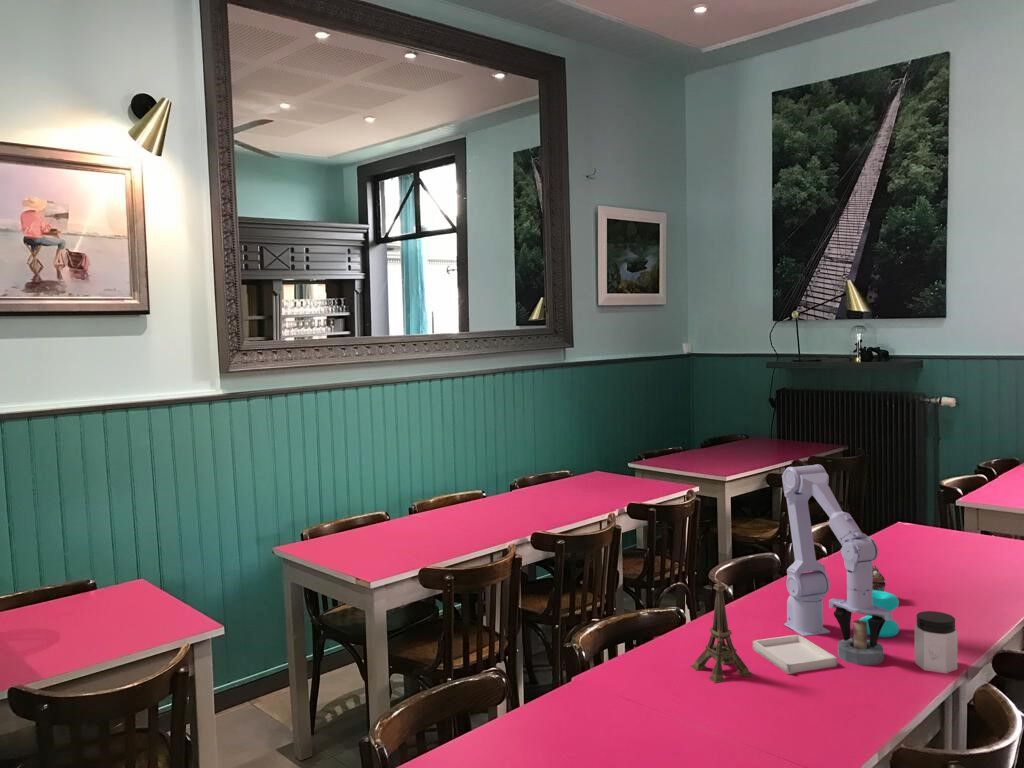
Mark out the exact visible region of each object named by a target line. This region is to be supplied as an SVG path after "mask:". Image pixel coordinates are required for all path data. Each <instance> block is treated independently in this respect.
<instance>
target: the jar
mask: <svg viewBox="0 0 1024 768" xmlns="http://www.w3.org/2000/svg"><path fill="white" fill-rule="evenodd" d="M914 664H916V665H917V666H918V667H920V668H921V669H922V670H923V671H926V672H927V671H928V672H934V673H941V674H948V673H950V672H954V671H956V670H958V629H956V618H955V617H954V616H953V615H951V614H948V613H945V612H941V611H933V610H925V611H920V612H918V613H917V614H916V624H914Z"/></svg>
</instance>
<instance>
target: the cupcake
mask: <svg viewBox="0 0 1024 768" xmlns="http://www.w3.org/2000/svg"><path fill="white" fill-rule="evenodd" d="M885 581H886V579H885V577H884V575H883V574H882V573H881V572H880V571H879V568H878V567H877V566H876V565H872V590H876V591H884V592H885V588H886V586H887V585H886V582H885Z"/></svg>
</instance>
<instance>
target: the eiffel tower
mask: <svg viewBox="0 0 1024 768" xmlns="http://www.w3.org/2000/svg"><path fill="white" fill-rule="evenodd" d="M713 589H714V590H716V591H715V600H714V610H713V618H712V619H713V620H712V627H710V628H709V631H708V632H710V637H709V640H708V643H707V645H704V646H705V649H704V650H703V652H701V654H700V655H699V656H698V658H696V659H695V661H694V663H693V664H690V665H689V667H690V668H691V669H693V670H695V671H701V670H707V666H706V664H707V663H708V661H709V660H710V659H711V658H712V659H713V660H714V662H715V663H714V665H713V669H712V671H711V675H709V677H708V680H710V681H711V682H712V683H714V684H718V683H723V682H726V679H725V677H724V676H723V667H722V665H725V666H726V665H730V664H734V666H735V668H736V669H737V670H736V674H738V675H739V676H742V677H743V678H745V677H751V676H754V673H752V672H751V671H750V669H749V668H748V667H747V665H746V664H745V663H744V661H743V660H742V658H740V656H739V655H738V654H737V650H738V649H736V648H735V647H734V644H733V641H732V639H731V635H732V633H733V632H732V630H730V629H729V625H728V619H727V611H726V602H725V597H724V591H726V590H727V588H726V586H725V585H724V584H723V583H721V574H720V571H718V583H715V584H713Z"/></svg>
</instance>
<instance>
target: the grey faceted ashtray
mask: <svg viewBox="0 0 1024 768" xmlns="http://www.w3.org/2000/svg"><path fill="white" fill-rule="evenodd" d="M837 655H838V658H839V659H841V660H842V661H844V662H845V663H850V664H854V665H858V666H874V665H880V664H881V663H882V662H883V661H884V647H883V645H882V644H880V643H879V642H877V645H876V646H875V647H870V639H867V649H864V650H863V649H856V648H854V644H853V637H850V639H849V640H847V641H846V640H844V638H843V639H840V640H839V641H837Z"/></svg>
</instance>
